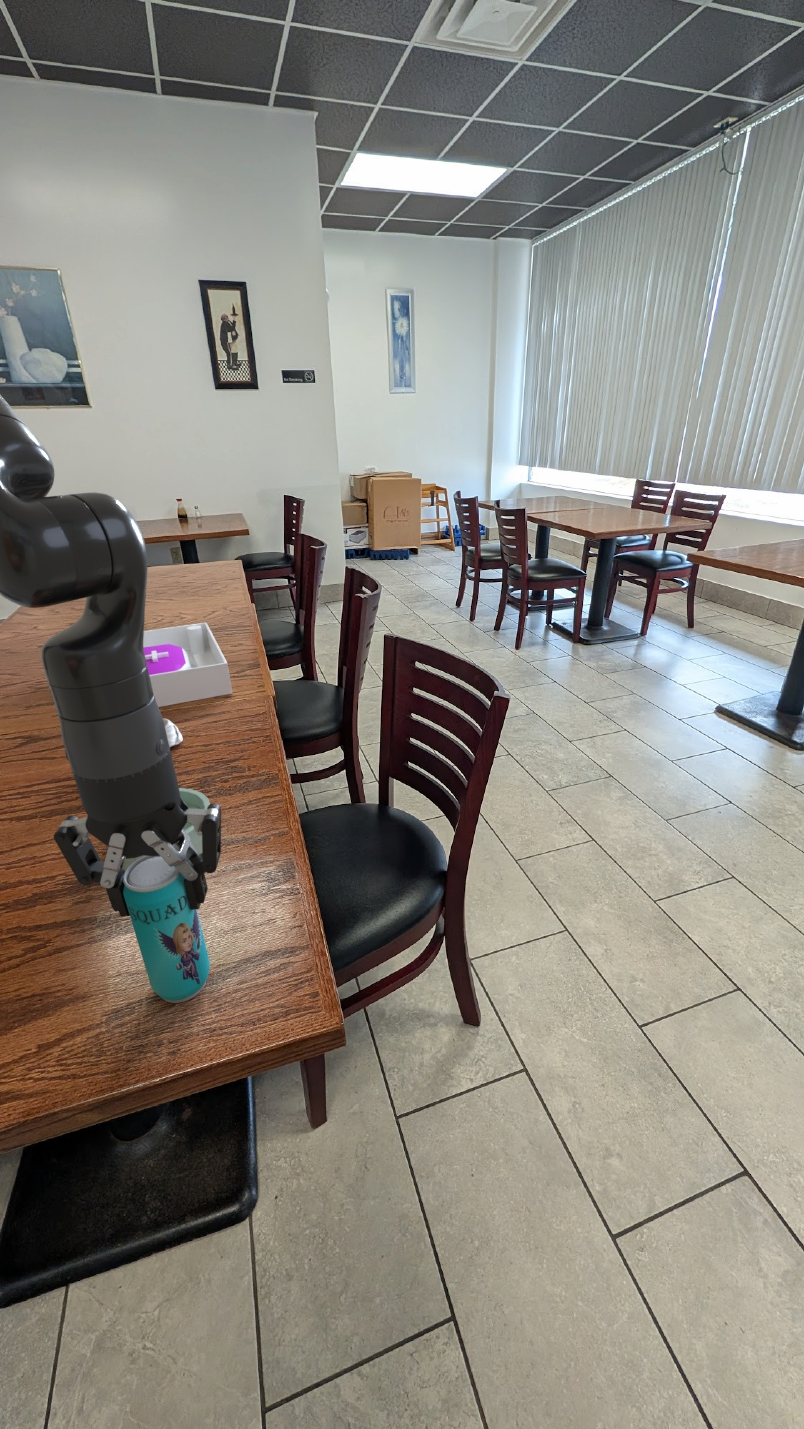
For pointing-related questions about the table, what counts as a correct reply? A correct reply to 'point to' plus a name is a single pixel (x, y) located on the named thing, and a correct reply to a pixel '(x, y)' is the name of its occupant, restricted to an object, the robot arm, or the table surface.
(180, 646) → the white open box
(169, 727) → the white hollow rounded piece
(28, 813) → the table surface
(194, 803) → the bowl
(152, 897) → the beverage can
